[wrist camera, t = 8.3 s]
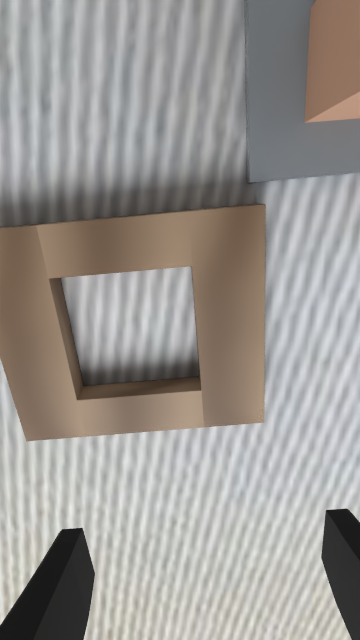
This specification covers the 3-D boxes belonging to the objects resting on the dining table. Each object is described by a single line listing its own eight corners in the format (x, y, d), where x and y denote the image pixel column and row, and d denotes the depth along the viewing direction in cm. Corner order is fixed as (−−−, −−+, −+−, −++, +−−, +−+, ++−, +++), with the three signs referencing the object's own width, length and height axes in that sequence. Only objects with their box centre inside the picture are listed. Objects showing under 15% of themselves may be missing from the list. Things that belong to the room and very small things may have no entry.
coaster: (479, -93, 13) (493, -107, 12) (435, 165, 16) (444, 164, 15) (244, -68, 13) (247, -80, 12) (247, 183, 16) (249, 182, 15)
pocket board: (257, 203, 16) (265, 204, 15) (258, 407, 21) (264, 422, 19) (-21, 229, 17) (-39, 232, 15) (36, 424, 21) (26, 441, 19)
